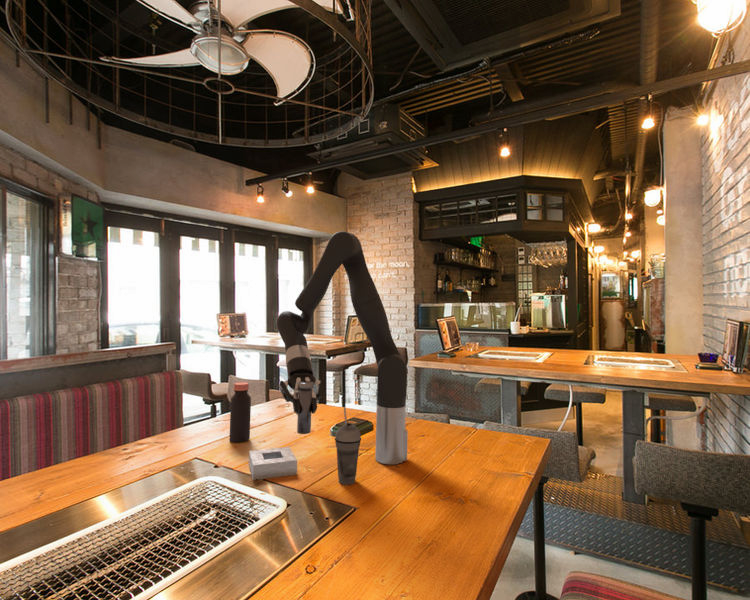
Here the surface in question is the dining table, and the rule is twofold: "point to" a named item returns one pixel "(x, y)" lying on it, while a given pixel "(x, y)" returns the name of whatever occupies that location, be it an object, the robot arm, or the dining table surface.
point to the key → (304, 407)
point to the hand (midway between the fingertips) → (306, 412)
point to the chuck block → (272, 463)
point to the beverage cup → (347, 452)
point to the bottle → (240, 413)
